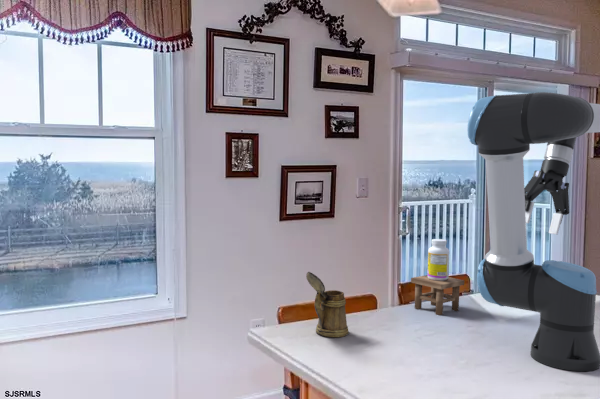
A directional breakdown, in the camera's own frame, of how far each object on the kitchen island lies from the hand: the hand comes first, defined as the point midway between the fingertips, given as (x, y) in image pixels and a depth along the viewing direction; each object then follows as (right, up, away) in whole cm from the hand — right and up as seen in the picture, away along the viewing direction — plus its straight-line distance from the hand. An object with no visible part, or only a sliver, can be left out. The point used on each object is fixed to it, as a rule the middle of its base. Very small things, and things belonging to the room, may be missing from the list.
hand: (538, 228), depth 160 cm
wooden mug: (-66, -28, -16) cm, 73 cm away
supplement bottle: (-28, -17, +11) cm, 35 cm away
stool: (-28, -27, +12) cm, 41 cm away
